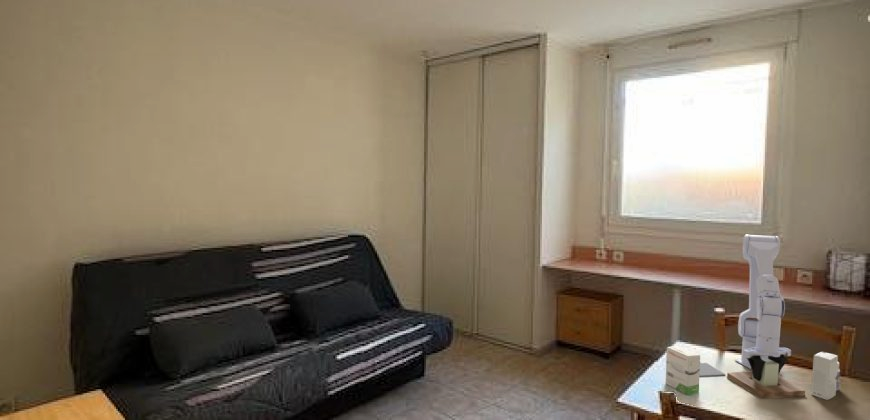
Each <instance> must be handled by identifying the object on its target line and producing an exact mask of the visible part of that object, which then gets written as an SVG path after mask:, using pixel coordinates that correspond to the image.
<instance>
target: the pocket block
mask: <svg viewBox="0 0 870 420" xmlns="http://www.w3.org/2000/svg"><path fill="white" fill-rule="evenodd" d="M752 377H753V373H752V370H751V371H750V370H749V371H737V372H735V371H733V372H732V371H731V372H727V376H726V378H727V379H729V380H730V381H731V382H734V383H735V384H737V385H738V386H741V387H742V388H743V389H745V390H747V391H748V392H750V393H751V394H753V395H755V396H757V397H758V398H760V399H776V398H777V399H778V398H792V397H793V398H795V397H805V396H806V390H805V389H803V388H801V387H799V386H797V385H795V384H793V383H791V382H789V381H788V380H787V379H784V378H782V377H781V376H778V383H777V386H762V385H760V384H758V383H757V382H755V381H753V380H752Z"/></svg>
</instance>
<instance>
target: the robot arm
mask: <svg viewBox="0 0 870 420" xmlns="http://www.w3.org/2000/svg"><path fill="white" fill-rule="evenodd" d="M780 250H781V240H780V238H779V236H778V235H760V234H759V235H757V234H747V233H746V234H745V235H743V237H742V258H743V259H744V260H746V261H747V262H748V265H749V286H748V287H749V290H748V291H749V292H748V309H746V310H744V311H742V312H740V313H739V315H738V323H737V332H738V335H739V336H740V337H741V338H742V343H741V345H742V346H741V358H734V361H736V363H739V364H741V365H742V366H744V367H745V368H748V369H750V370H751V371H752V373H753V378H754V379H756V380H758V381H760V380H761V376H762V370H763V367H764V364H765V363H766V361H764V360H762V358H768V359H770V360H772V361H774V362H776V363H778V364H779V370H778V376H779V375H780V373H781V371H782V368H783V367H784V366H785V365H786V364H787V363H788V358H787V357H791V356H792V350H791V349H790V348H787V347H782V346H781V347H780V337H781V325H782V324H781V323H782V318H783V317H784V316H785V310H786V305H785V304H786V303H785V298H783V295H782V294H781V292H780V291H781V289H780V283H779V279H778V278H777V277H776V276H774V261H775V260H776V258H777V256H778V254H779V253H780ZM786 356H787V357H786Z"/></svg>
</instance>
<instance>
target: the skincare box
mask: <svg viewBox="0 0 870 420" xmlns="http://www.w3.org/2000/svg"><path fill="white" fill-rule="evenodd" d="M838 358H839V355H836V354H835V353H829V352H826V351H820V352H818V353H815V354H814V355H813V359H812V360H813V361H812V374H811V375H812V378H811V390H810V391H811V392H810V394H811V395H812V396H814V397H816V398H819V399H824V400H826V401H828V400H831V399H832V398H834V397H836V394H837V390H836V381H837V365H838V362H839V361H838V360H839V359H838Z"/></svg>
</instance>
